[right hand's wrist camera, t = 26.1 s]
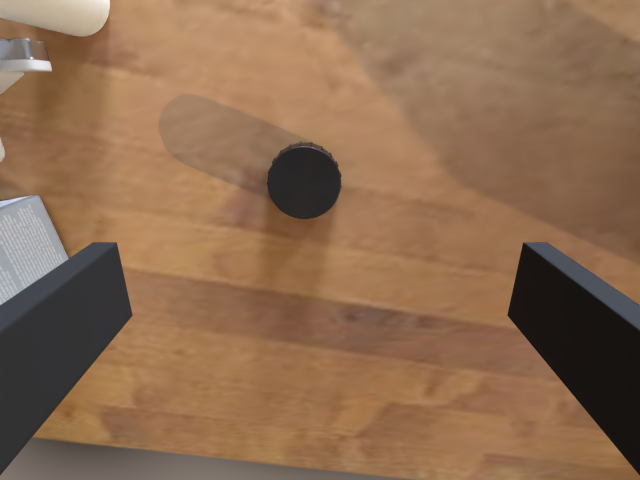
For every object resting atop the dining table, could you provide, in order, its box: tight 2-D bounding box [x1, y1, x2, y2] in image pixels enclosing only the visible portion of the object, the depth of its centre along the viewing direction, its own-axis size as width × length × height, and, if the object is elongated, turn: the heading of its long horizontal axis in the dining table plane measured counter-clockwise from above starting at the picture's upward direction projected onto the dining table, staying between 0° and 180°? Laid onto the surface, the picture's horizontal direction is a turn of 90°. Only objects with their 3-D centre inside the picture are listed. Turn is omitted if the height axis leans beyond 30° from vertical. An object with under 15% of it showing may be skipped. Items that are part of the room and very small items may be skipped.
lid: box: [267, 142, 341, 219], centre depth 28 cm, size 5×5×2 cm
